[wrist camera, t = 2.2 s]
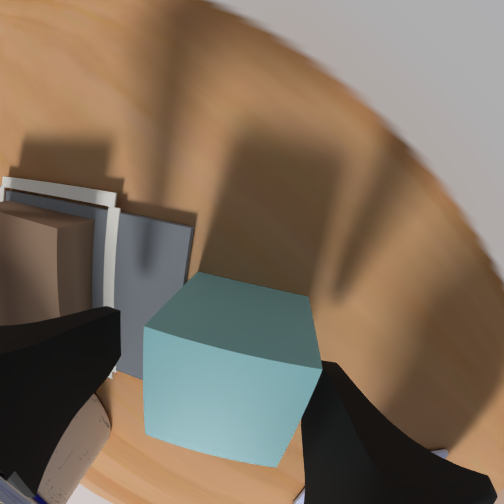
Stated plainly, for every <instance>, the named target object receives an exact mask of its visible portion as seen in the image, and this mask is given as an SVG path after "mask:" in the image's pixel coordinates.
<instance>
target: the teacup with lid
mask: <svg viewBox="0 0 504 504" xmlns="http://www.w3.org/2000/svg"><path fill="white" fill-rule="evenodd" d="M110 430H111V429H110V422H109V419H108V416H107V414H106V411H105V409H104V408H103V406H102V404H101V402H100V401H99V399H98V398H97V396H96V395H95V394H93V395H92V396H91V397H90V398H89V400H88V401H87V402H86V403H85V404H84V406H83V407H82V408H81V409H80V410H79V411H78V413H77V414H76V415H75V417H74V418H73V420H72V421H71V423H70V424H69V426H68V428H67V429H66V431H65V432H64V434H63V436H62V437H61V439H60V441H59V443H58V445H57V447H56V449H55V450H54V452H53V454H52V456H51V459H50V461H49V463H48V465H47V467H46V470H45V472H44V474H43V477H42V480H41V482H40V485H39V488H38V491H37V494H36V497H33V498H28V497H26V496H24V495H23V494H22V493H21V492H19V491H18V490H17V489H16V488H14V487H13V486H12V485H11V484H9V483H8V482H7V481H5V480H4V479H3V478H2V477H0V478H1V479H2V480H4V481H5V482H6V483H7V484H8V485H9V486H11V487H12V488H13V489H14V490H15V491H17V492H18V493H19V494H20V495H22V496H23V497H24V498H26V499H27V500H28V501H30V502H31V503H32V504H66V502H67V501H68V499H69V498H70V496H71V495H72V493H73V492H74V490H75V489H76V487H77V486H78V484H79V483H80V481H81V480H82V478H83V476H84V475H85V473H86V472H87V470H88V469H89V467H90V466H91V464H92V463H93V461H94V460H95V458H96V457H97V455H98V454H99V452H100V451H101V449H102V448H103V446H104V445H105V443H106V442H107V440H108V439H109V436H110ZM0 504H4V503H3V502H1V501H0Z"/></svg>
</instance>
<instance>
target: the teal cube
mask: <svg viewBox="0 0 504 504" xmlns="http://www.w3.org/2000/svg"><path fill="white" fill-rule="evenodd" d="M322 370H323V369H322V363H321V358H320V352H319V347H318V342H317V337H316V332H315V327H314V322H313V317H312V312H311V307H310V302H309V297H308V296H303V295H299V294H294V293H290V292H285V291H280V290H276V289H271V288H267V287H262V286H258V285H254V284H249V283H245V282H241V281H236V280H232V279H228V278H224V277H219V276H215V275H211V274H207V273H203V272H199V271H198V272H197V273H196V274H195V275H194V276H193V277H192V278H191V279H190V280H189V281H188V282H187V283H186V284H185V285H184V286H183V287H182V288H181V289H180V290H179V291H178V292H177V293H176V294H175V295H174V296H173V297H172V298H171V299H170V300H169V301H168V302H167V303H166V304H165V305H164V306H163V307H162V308H161V309H160V310H159V311H158V312H157V313H156V314H155V315H154V316H153V317H152V318H151V319H150V320H149V321H148V322H147V323H146V324H145V325H144V336H143V399H144V421H145V434H146V435H149V436H151V437H154V438H157V439H160V440H163V441H166V442H168V443H172V444H175V445H178V446H181V447H184V448H188V449H191V450H194V451H198V452H202V453H205V454H209V455H213V456H217V457H222V458H226V459H231V460H235V461H240V462H245V463H251V464H256V465H263V466H269V467H277V465H278V463H279V462H280V460H281V458H282V456H283V454H284V452H285V450H286V448H287V446H288V444H289V442H290V440H291V438H292V436H293V434H294V432H295V430H296V428H297V426H298V424H299V422H300V420H301V418H302V416H303V413H304V411H305V409H306V407H307V405H308V403H309V400H310V398H311V396H312V393H313V391H314V389H315V387H316V384H317V382H318V379H319V377H320V375H321V372H322Z"/></svg>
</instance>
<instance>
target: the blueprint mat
mask: <svg viewBox="0 0 504 504" xmlns="http://www.w3.org/2000/svg"><path fill="white" fill-rule="evenodd" d="M5 187H6V188H12V189H18V190H23V191H29V192H35V193H40V194H46V195H51V196H57V197H62V198H67V199H73V200H78V201H83V202H89V203H94V204H99V205H104V206H108V209H106V208H100V207H95V206H90V205H85V204H80V203H75V202H70V201H65V200H60V199H54V198H49V197H44V196H39V195H33V194H28V193H23V192H17V191H12V190H9V191H6V200H5ZM116 198H117V193H115V192H109V191H103V190H96V189H90V188H84V187H77V186H71V185H64V184H57V183H50V182H43V181H36V180H28V179H21V178H13V177H5V176H3V180H2V186H0V202H2V201H4V200H5V201H9V200H10V201H14V202H19V203H23V204H28V205H32V206H36V207H41V208H45V209H49V210H54V211H58V212H63V213H67V214H71V215H76V216H80V217H85V218H89V219H93V220H95V226H94V241H93V264H92V305H93V308H98V307H103V306H109V307H112V308H114V309H117V310H120V311H121V357H120V359H119V360H118V362H117V364H116V365H115V367H114V369H113V370H112V372H111V373H110V375H109V376H108V378H110V379H113V372H115V373H117V370H118V371H121V372H123V373H126V374H128V375H131V376H134V377H136V378H139V379H142V380H143V336H144V325H145V324H146V323H147V322H148V321H149V320H150V319H151V318H152V317H153V316H154V315H155V314H156V313H157V312H158V311H159V310H160V309H161V308H162V307H163V306H164V305H165V304H166V303H167V302H168V301H169V300H170V299H171V298H172V297H173V296H174V295H175V294H176V293H177V292H178V291H179V290H180V289H181V288H182V287H183V286H184V285H185V284H186V281H187V273H188V266H189V259H190V252H191V246H192V239H193V233H194V227H193V226H188V225H184V224H179V223H174V222H169V221H165V220H160V219H155V218H150V217H145V216H140V215H135V214H130V213H125V212H121V208H117V207H115V206H116Z"/></svg>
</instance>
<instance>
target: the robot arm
mask: <svg viewBox="0 0 504 504" xmlns="http://www.w3.org/2000/svg"><path fill="white" fill-rule="evenodd" d="M120 357H121V311H120V310H117V309H114V308H112V307H109V306H103V307H98V308H93V309H89V310H85V311H81V312H77V313H73V314H69V315H66V316H62V317H57V318H53V319H48V320H43V321H38V322H33V323H26V324H18V325H3V326H0V477H2V478H3V479H4V480H5V481H7V482H8V483H9V484H11V485H12V486H13V487H14V488H16V489H17V490H18V491H19V492H21V493H22V494H23V495H24V496H26V497H28V498H33V497H36V494H37V491H38V488H39V485H40V482H41V480H42V477H43V474H44V472H45V470H46V467H47V465H48V463H49V461H50V459H51V456H52V454H53V452H54V450H55V449H56V447H57V445H58V443H59V441H60V439H61V437H62V436H63V434H64V432H65V431H66V429H67V428H68V426H69V424H70V423H71V421H72V420H73V418H74V417H75V415H76V414H77V413H78V411H79V410H80V409H81V408H82V407H83V406H84V404H85V403H86V402H87V401H88V400H89V398H90V397H91V396H92V395H93V394H94V393H95V391H96V390H97V389H98V388H99V387H100V386H101V384H102V383H103V382H104V381H105V380H106V378H107V377H108V376H109V375H110V373H111V372H112V370H113V369H114V367H115V365H116V364H117V362H118V360H119V359H120ZM321 363H322V369H323V370H322V372H321V375H320V377H319V379H318V382H317V384H316V387H315V389H314V391H313V393H312V396H311V398H310V400H309V403H308V405H307V407H306V409H305V411H304V413H303V416H302V419H301V431H302V445H303V457H304V470H305V488H304V490H303V491H302V492H301V493H300V495H299V496H298V497H297V498H296V500H295V501H294V502H293V503H292V504H494V502H495V501H496V499H497V494H496V491H495V489H494V487H493V485H492V483H491V481H490V478H489V477H488V476H487V475H484V474H481V473H478V472H475V471H472V470H469V469H466V468H463V467H461V466H458V465H456V464H454V463H452V462H450V461H448V460H445V458H446V457H447V455H448V451H447V449H443V450H436V451H429V450H427V449H426V448H424V447H423V446H421V445H420V444H418V443H417V442H415V441H414V440H412V439H411V438H409V437H408V436H407V435H406V434H404V433H403V432H402V431H401V430H399V429H398V428H397V427H396V426H395V425H393V424H392V423H391V422H390V421H389V420H388V419H387V418H386V417H385V416H384V415H383V414H382V413H381V412H380V411H379V410H378V409H377V408H376V407H375V406H374V405H373V404H372V403H371V402H370V401H369V400H368V399H367V398H366V397H365V395H364V394H363V393H362V392H361V391H360V390H359V389H358V387H357V386H356V385H355V384H354V383H353V381H352V380H351V379H350V378H349V377H348V375H347V374H346V373H345V372H344V371H343V370H342V368H341V367H340V366H339V365H338V364H337V363H334V362H328V361H321ZM4 480H2V479H1V478H0V501H1V502H3V503H4V504H32V503H31V502H30V501H28V500H27V499H26V498H24V497H23V496H22V495H20V494H19V493H18V492H17V491H15V490H14V489H13V488H12V487H11V486H9V485H8V484H7V483H6V482H5V481H4Z"/></svg>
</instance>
